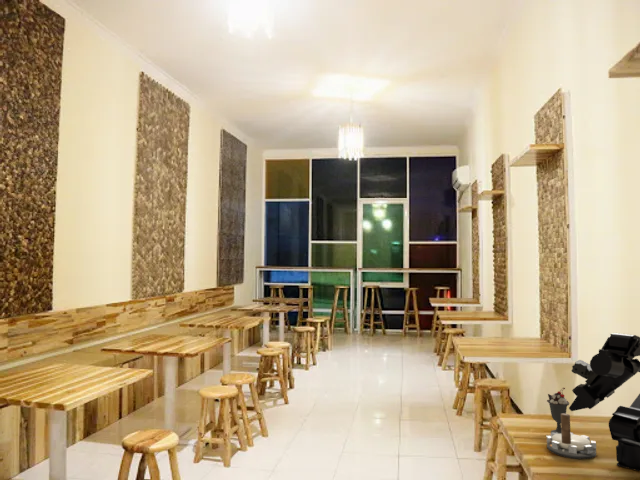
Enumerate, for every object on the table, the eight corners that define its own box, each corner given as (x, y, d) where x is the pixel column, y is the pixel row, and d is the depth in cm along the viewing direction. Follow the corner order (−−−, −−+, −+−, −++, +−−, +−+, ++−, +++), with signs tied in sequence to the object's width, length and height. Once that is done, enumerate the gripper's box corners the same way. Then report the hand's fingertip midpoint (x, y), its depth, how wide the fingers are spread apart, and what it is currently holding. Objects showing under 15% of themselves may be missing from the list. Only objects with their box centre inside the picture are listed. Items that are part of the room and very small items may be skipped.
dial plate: (602, 450, 144) (601, 438, 144) (587, 463, 135) (587, 451, 135) (556, 439, 153) (556, 428, 153) (540, 450, 144) (539, 439, 144)
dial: (594, 444, 144) (593, 411, 144) (583, 453, 137) (582, 419, 137) (559, 435, 151) (558, 405, 152) (547, 444, 144) (545, 412, 145)
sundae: (574, 436, 155) (572, 389, 156) (553, 436, 156) (551, 389, 156) (564, 429, 162) (562, 384, 163) (544, 429, 162) (542, 384, 163)
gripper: (600, 348, 144) (563, 379, 152) (579, 357, 131) (539, 391, 139) (632, 378, 138) (591, 410, 146) (613, 391, 125) (569, 425, 133)
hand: (572, 408), depth 141 cm, fingers open, 4 cm apart
